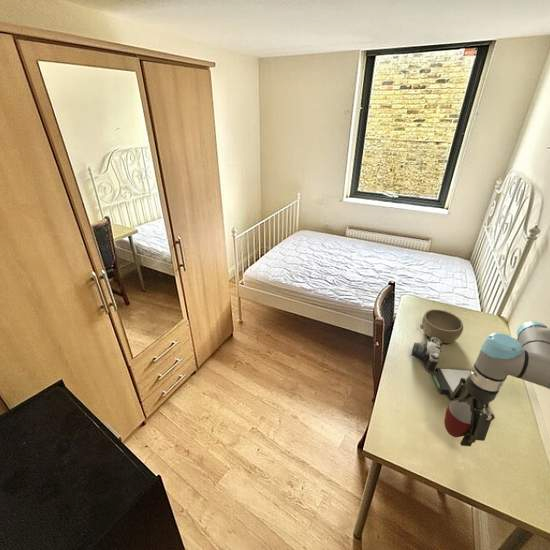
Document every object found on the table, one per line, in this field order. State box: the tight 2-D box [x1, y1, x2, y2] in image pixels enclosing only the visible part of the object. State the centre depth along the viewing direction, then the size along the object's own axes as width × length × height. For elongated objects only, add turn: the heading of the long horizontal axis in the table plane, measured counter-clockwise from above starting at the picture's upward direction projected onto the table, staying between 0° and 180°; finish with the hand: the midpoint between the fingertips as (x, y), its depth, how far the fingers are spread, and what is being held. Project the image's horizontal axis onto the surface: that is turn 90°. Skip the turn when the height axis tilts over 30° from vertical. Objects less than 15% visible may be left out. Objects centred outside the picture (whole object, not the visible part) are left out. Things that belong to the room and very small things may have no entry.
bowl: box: [419, 308, 464, 344], centre depth 141 cm, size 17×18×10 cm
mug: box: [443, 400, 472, 438], centre depth 90 cm, size 10×8×10 cm
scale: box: [431, 367, 472, 401], centre depth 116 cm, size 14×17×3 cm
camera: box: [411, 337, 443, 374], centre depth 127 cm, size 16×10×10 cm, turn 153°
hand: (458, 431), depth 93 cm, fingers closed on mug, 8 cm apart
